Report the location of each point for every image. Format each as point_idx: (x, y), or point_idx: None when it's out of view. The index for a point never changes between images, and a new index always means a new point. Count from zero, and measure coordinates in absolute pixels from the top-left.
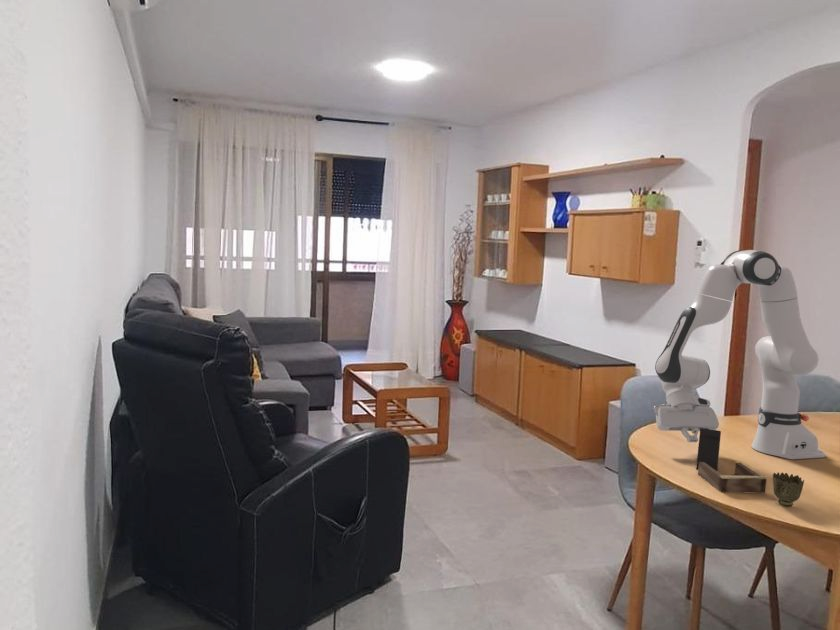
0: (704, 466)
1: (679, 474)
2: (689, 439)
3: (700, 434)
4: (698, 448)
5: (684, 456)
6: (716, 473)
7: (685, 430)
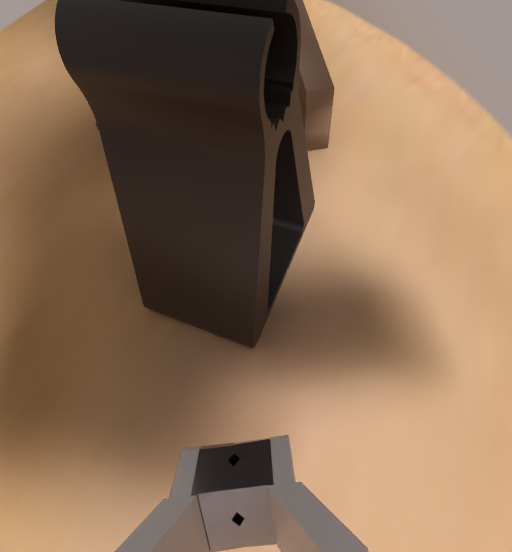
0: (321, 56)
1: (418, 135)
2: (288, 440)
3: (291, 42)
4: (304, 145)
5: (319, 440)
6: (297, 1)
7: (339, 547)
